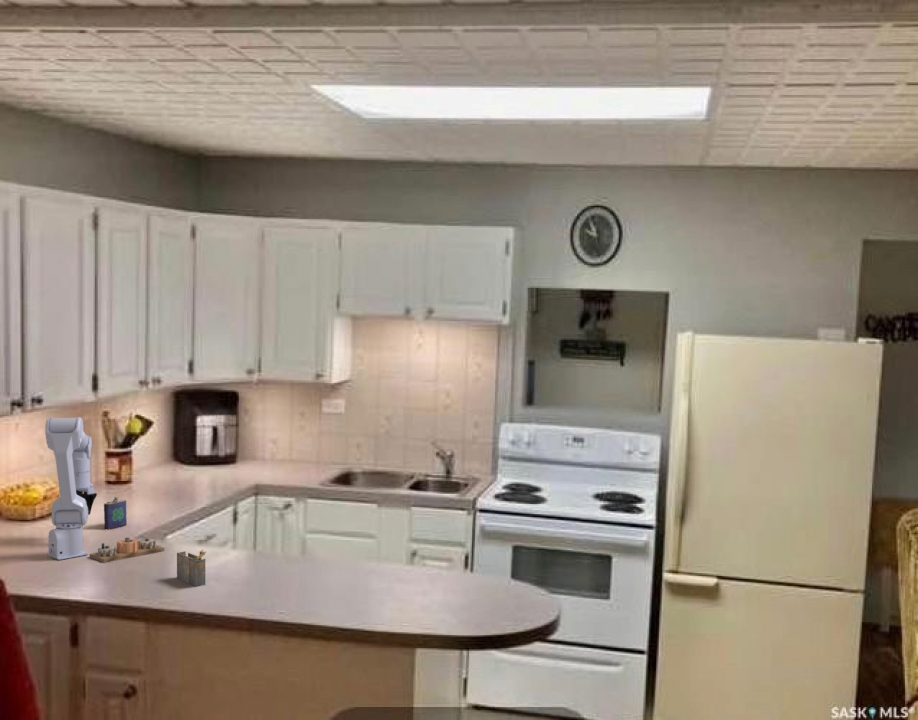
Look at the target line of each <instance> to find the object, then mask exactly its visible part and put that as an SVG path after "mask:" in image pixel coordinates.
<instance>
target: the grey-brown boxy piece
mask: <svg viewBox="0 0 918 720" xmlns="http://www.w3.org/2000/svg"><path fill="white" fill-rule="evenodd" d="M206 553H207V551H204V549H201V550H200V551H199V555H196V554H194V553H191V552H188V553H187V552H186V551H179V552H176V579H178V580H180V581H183V582H185V583H187V584H189V585H192V586H194V587H203V586H206V558H202V557H204V556H205V555H206Z"/></svg>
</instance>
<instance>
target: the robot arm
mask: <svg viewBox="0 0 918 720" xmlns="http://www.w3.org/2000/svg"><path fill="white" fill-rule="evenodd" d="M83 420H84V419H82V417H81V416H79V417H48V418H47V419H46V421H45V428H44V429H45V430H44V431H45V432H44V433H45V441H46V445H47V448H48V449H49V450H51V451H53V455H54V458H55V465H56V466H55V467H56V474H57V481H58V489H59V496H58V497H57V498H56V499H55V500H53V502H52V504H51V523H52V525H53V527H54V526H55V528H53V529H50V530H49V532H48V535H47V536H48V537H47V538H48V539H47V540H48V542H47V543H48V553H47V556H49V557H51V558H53V559H55V560H59V561H61V560H65V559H66V560H67V559H71V558H77V557H82V556H88V555H89V552H87V551H85V550H84V532H83V531H84V527H83V526H85V525H86V524H87V523H88V520H89V515H91V511H92V507H93V504H94V501H95V499H96V497H97V496H98V493H96V492H95V487H94V485H95V484H94V483H92V482H91V456H92V448H93V439H92V436H89V435H88V434H86V433H85V432H84V421H83Z"/></svg>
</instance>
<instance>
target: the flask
mask: <svg viewBox="0 0 918 720" xmlns="http://www.w3.org/2000/svg"><path fill="white" fill-rule="evenodd" d="M103 511H104V514H103V516H104V518H103V519H104V530H105V529H107V531H108V530H109V529H110V530H113V529H114V528H115V529H118V528H123V527H126V526H127V524H128V523H127V499H119V497H117V496H114V499H113V500H110V501H107V502H105V503H104V504H103Z"/></svg>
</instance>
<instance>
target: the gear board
mask: <svg viewBox="0 0 918 720" xmlns="http://www.w3.org/2000/svg"><path fill="white" fill-rule="evenodd" d="M124 539H125V542H130V539H131V538H130V537H124ZM156 541H157V540H156V539H151V538H145V539H143V538H142V539H141V540H138V550H137V551H136V552H131V553H120V552H117V546H112V545H105V543H103V542H102V543H101V547H98V549H97V552H93V553H89V558H91V559H92V560H96V561H98V562H101V563H107V562H108V563H109V562H114V561H119V560H125V559H129V558H134V557H140V556H145V555H150V553H151V554H155V553H161V552H164V551H165V547H163V546H160V545H158V544H157V542H156ZM160 551H161V552H160Z"/></svg>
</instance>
